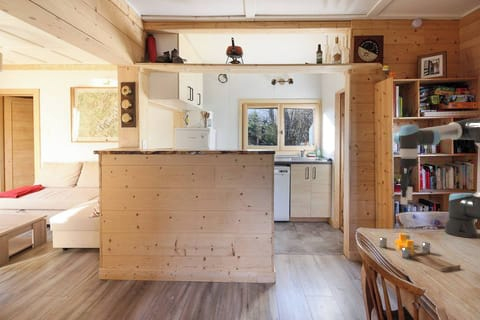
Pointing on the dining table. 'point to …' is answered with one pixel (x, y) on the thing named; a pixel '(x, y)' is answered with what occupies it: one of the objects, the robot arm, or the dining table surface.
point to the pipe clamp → (404, 242)
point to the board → (433, 262)
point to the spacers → (405, 249)
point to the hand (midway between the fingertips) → (406, 202)
